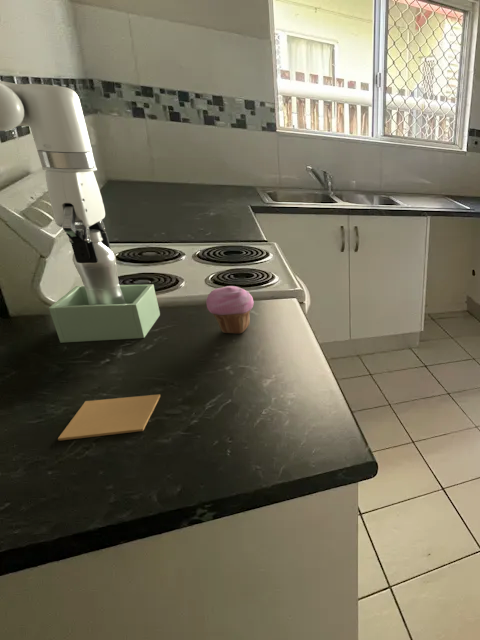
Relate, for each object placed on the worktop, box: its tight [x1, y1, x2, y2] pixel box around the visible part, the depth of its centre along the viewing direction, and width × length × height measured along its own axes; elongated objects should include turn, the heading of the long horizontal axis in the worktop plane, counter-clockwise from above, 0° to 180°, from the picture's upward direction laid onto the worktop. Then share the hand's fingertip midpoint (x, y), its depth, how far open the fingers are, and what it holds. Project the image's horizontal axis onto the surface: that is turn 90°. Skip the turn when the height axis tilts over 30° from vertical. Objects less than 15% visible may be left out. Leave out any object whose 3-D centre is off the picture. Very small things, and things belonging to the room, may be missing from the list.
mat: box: [57, 393, 161, 442], centre depth 73 cm, size 10×10×1 cm
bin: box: [48, 283, 161, 344], centre depth 98 cm, size 14×13×7 cm
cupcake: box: [206, 285, 255, 335], centre depth 102 cm, size 9×9×10 cm
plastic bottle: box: [72, 229, 127, 305], centre depth 95 cm, size 6×7×20 cm
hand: (94, 256), depth 93 cm, fingers closed on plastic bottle, 6 cm apart
